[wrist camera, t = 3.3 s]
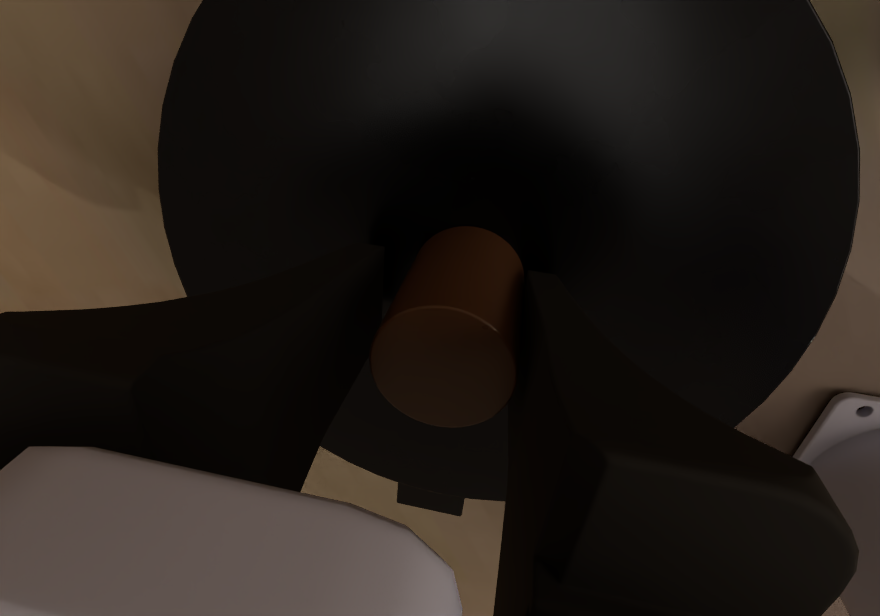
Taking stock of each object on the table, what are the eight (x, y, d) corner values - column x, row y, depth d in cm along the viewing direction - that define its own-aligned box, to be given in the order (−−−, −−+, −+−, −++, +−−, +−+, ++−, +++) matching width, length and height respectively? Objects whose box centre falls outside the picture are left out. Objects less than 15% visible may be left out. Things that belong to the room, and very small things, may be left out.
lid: (1025, -110, 8) (1552, -250, 4) (682, 516, 16) (730, 686, 12) (120, -178, 9) (-200, -327, 5) (227, 422, 17) (133, 544, 13)
